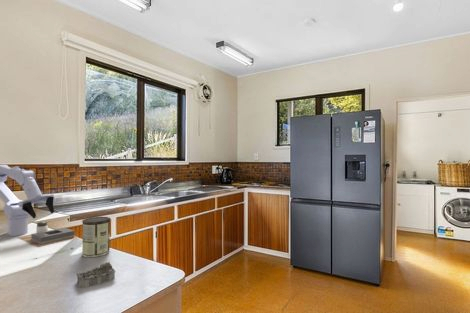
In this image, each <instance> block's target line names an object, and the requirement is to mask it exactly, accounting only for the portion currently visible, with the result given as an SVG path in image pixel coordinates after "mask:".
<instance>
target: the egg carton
mask: <svg viewBox="0 0 470 313" xmlns="http://www.w3.org/2000/svg"><path fill="white" fill-rule="evenodd" d="M115 273H116V270H115V268H113V266H112V264H111V262H110V261H109V262H105V263H102V264H100V265H99V266H95V267H94V268H92V269H88V270H85V271H82V272H76V273H75V274H76V278H77V280H76V281H77V282H76V283H77V284H78V286H79V288H88V287H90V285H93V284H94V285H99V284H101V283H102V282H104V281H108V282H111V281H113V279H115Z"/></svg>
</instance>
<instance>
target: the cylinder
mask: <svg viewBox="0 0 470 313" xmlns="http://www.w3.org/2000/svg"><path fill="white" fill-rule="evenodd" d="M48 227H49V226H48V221H39V222H37V223H36V231H35V233H39V232H44V231H49V230H48Z"/></svg>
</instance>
